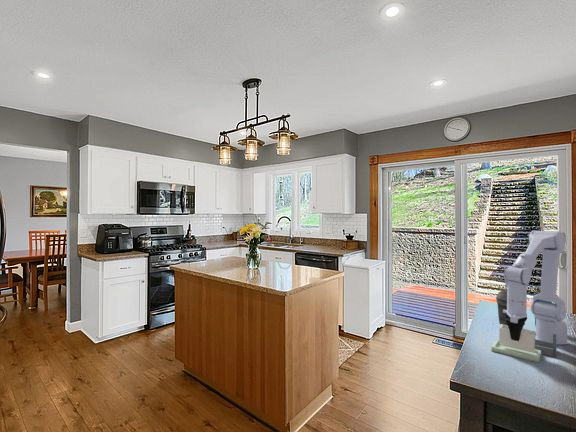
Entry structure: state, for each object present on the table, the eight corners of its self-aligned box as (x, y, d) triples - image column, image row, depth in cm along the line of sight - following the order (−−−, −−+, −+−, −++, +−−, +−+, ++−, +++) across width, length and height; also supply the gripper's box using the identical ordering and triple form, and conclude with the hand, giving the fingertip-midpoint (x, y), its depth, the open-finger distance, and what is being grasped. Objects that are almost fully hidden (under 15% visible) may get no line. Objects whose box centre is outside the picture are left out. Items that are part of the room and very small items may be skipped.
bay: (556, 350, 115) (556, 328, 115) (555, 357, 109) (556, 334, 109) (531, 344, 120) (531, 323, 120) (529, 350, 114) (529, 329, 114)
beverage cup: (514, 323, 143) (515, 280, 143) (515, 328, 137) (516, 283, 137) (495, 320, 147) (496, 278, 147) (495, 325, 141) (496, 281, 141)
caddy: (534, 348, 111) (535, 331, 110) (533, 352, 107) (534, 335, 107) (501, 340, 117) (501, 324, 117) (498, 343, 114) (499, 327, 114)
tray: (540, 354, 111) (541, 350, 111) (539, 363, 104) (539, 358, 104) (495, 343, 120) (495, 340, 120) (491, 350, 114) (491, 346, 114)
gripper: (506, 294, 120) (505, 329, 120) (500, 302, 110) (499, 340, 110) (529, 298, 116) (528, 334, 116) (525, 306, 105) (524, 346, 105)
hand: (516, 337), depth 112 cm, fingers closed on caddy, 5 cm apart
